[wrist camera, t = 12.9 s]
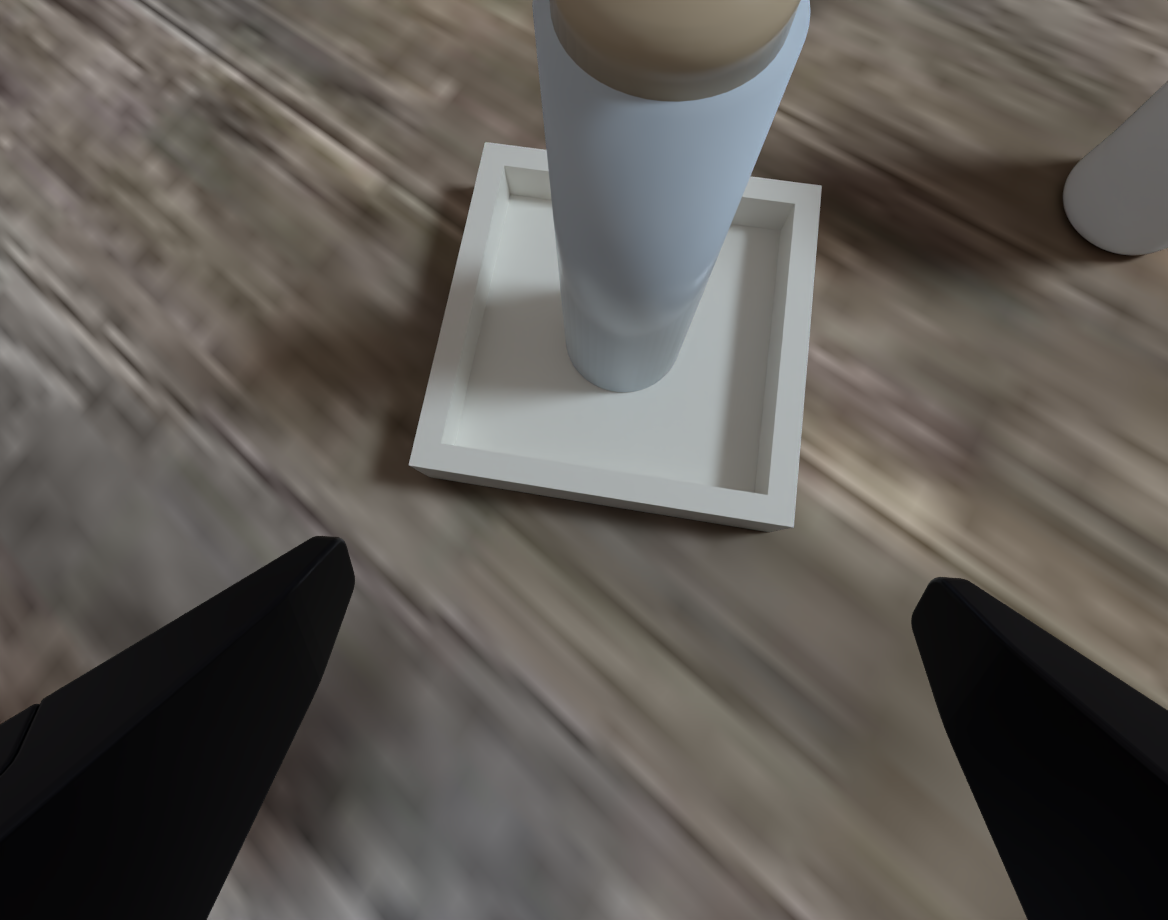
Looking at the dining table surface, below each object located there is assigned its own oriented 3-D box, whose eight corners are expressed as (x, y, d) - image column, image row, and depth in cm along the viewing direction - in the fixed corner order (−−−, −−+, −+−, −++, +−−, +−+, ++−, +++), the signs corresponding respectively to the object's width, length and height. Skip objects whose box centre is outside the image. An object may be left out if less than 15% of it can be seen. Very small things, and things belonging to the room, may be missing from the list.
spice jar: (637, 414, 21) (732, 98, 7) (542, 350, 22) (459, -55, 8) (702, 325, 22) (901, -112, 8) (609, 265, 22) (642, -236, 9)
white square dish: (770, 532, 21) (793, 527, 18) (429, 477, 21) (408, 465, 19) (798, 225, 24) (821, 185, 21) (495, 185, 24) (485, 142, 22)
